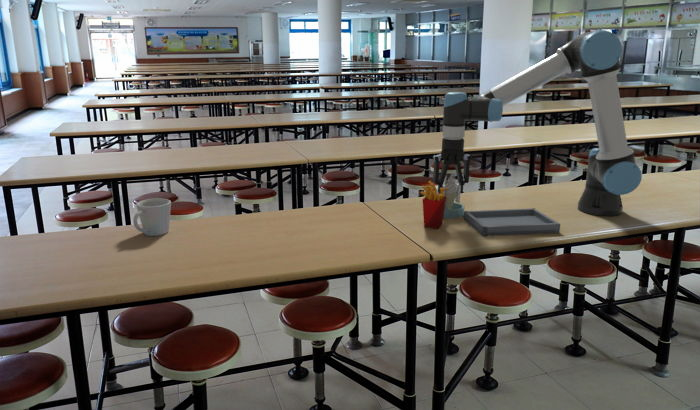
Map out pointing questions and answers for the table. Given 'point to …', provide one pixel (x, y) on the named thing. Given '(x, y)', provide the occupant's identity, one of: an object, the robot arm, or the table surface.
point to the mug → (153, 216)
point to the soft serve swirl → (450, 192)
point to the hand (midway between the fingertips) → (449, 202)
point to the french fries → (433, 206)
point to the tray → (511, 222)
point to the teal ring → (454, 211)
